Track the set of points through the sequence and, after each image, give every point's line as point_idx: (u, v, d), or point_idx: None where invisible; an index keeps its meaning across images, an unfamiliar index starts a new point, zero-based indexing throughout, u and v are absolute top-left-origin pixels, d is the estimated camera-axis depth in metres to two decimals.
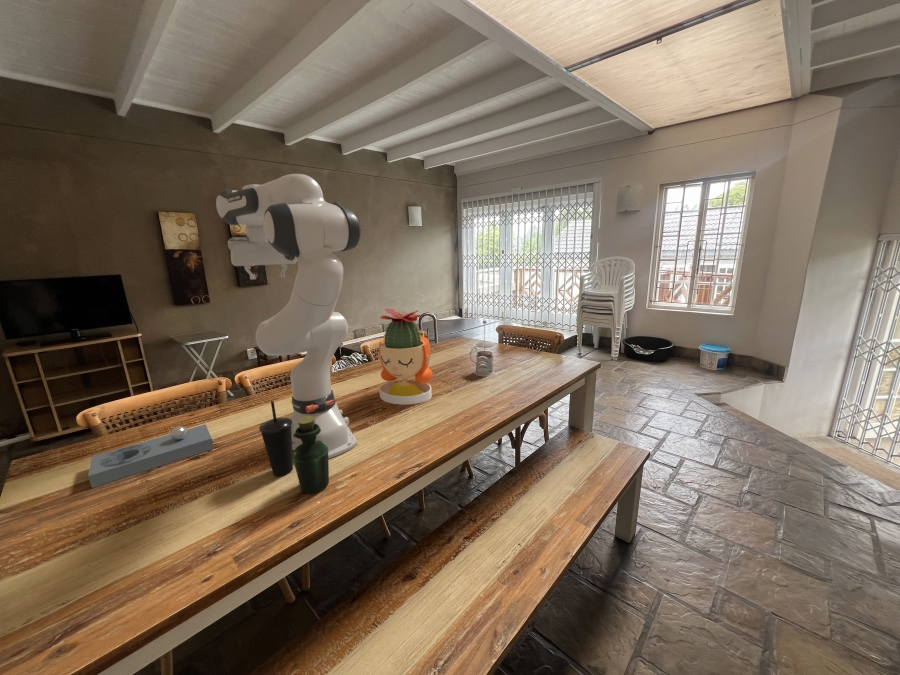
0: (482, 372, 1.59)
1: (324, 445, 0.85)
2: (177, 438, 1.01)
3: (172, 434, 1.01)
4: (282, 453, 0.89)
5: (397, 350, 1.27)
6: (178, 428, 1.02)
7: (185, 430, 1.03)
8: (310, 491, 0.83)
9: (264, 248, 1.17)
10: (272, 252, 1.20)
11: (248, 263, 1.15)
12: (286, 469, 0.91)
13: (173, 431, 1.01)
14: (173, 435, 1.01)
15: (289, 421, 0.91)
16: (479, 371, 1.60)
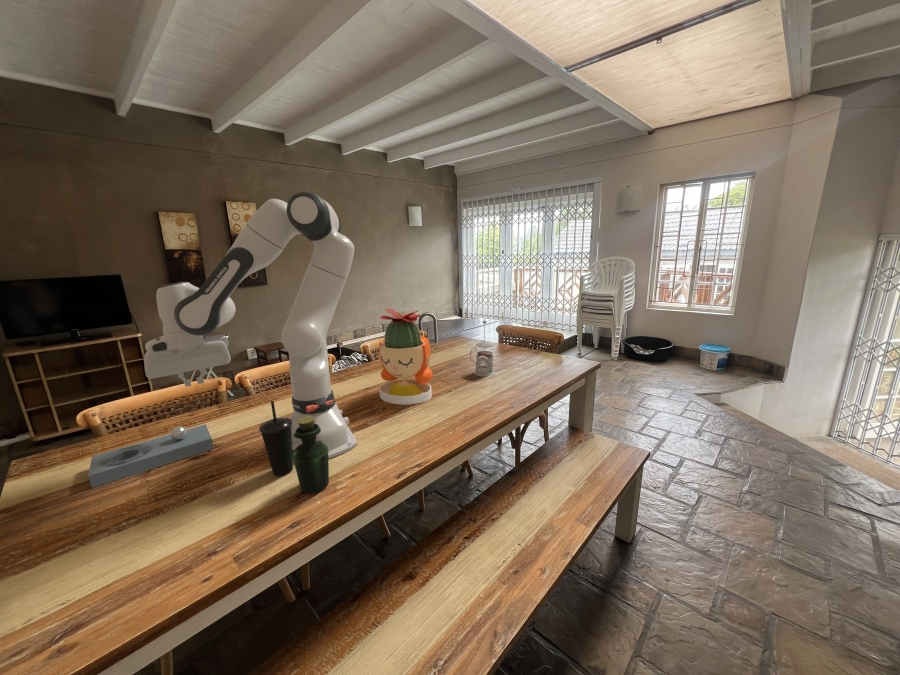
0: (482, 372, 1.59)
1: (324, 445, 0.85)
2: (177, 438, 1.01)
3: (172, 434, 1.01)
4: (282, 453, 0.89)
5: (397, 350, 1.27)
6: (178, 428, 1.02)
7: (185, 430, 1.03)
8: (310, 491, 0.83)
9: None
10: None
11: None
12: (286, 469, 0.91)
13: (173, 431, 1.01)
14: (173, 435, 1.01)
15: (289, 421, 0.91)
16: (479, 371, 1.60)
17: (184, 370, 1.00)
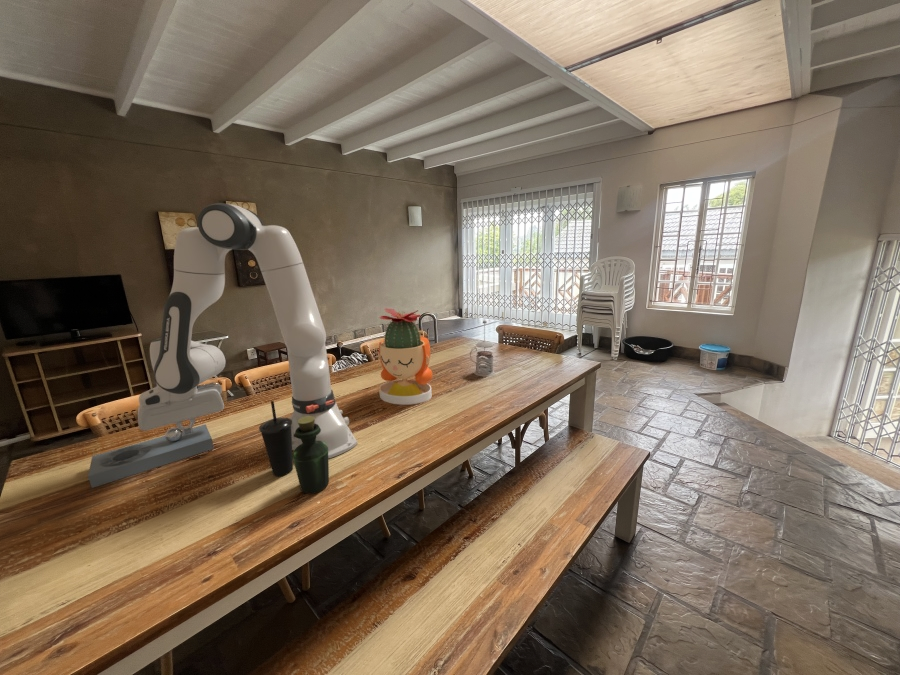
0: (482, 372, 1.59)
1: (324, 445, 0.85)
2: (174, 439, 1.01)
3: (167, 439, 1.00)
4: (282, 453, 0.89)
5: (397, 350, 1.27)
6: (168, 431, 1.01)
7: (176, 430, 1.02)
8: (310, 491, 0.83)
9: None
10: None
11: None
12: (286, 469, 0.91)
13: (166, 436, 1.00)
14: (168, 439, 1.00)
15: (289, 421, 0.91)
16: (479, 371, 1.60)
17: (177, 420, 1.01)
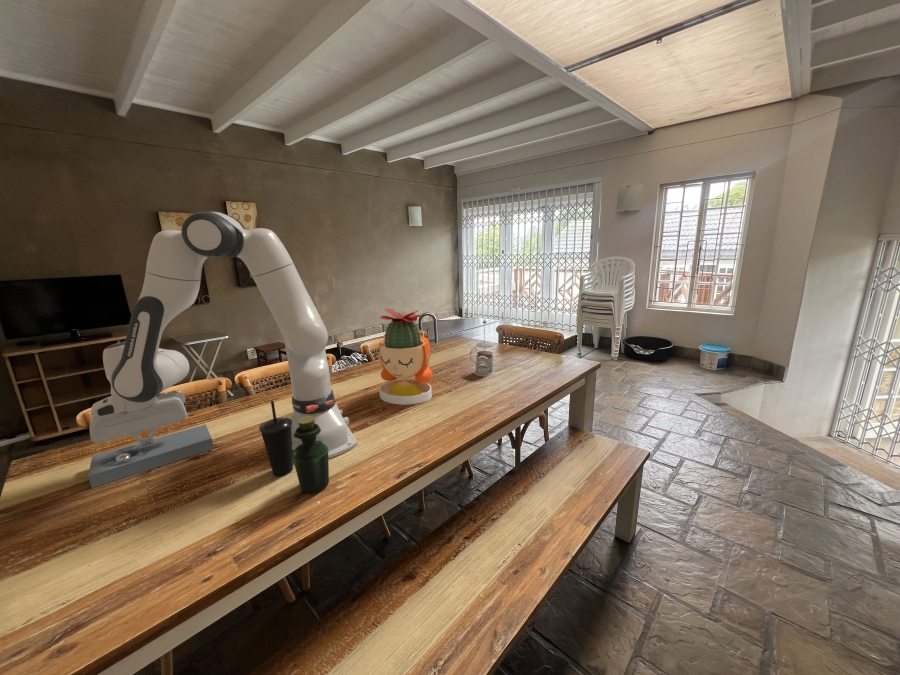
0: (482, 372, 1.59)
1: (324, 445, 0.85)
2: None
3: None
4: (282, 453, 0.89)
5: (397, 350, 1.27)
6: (116, 459, 0.94)
7: (125, 456, 0.95)
8: (310, 491, 0.83)
9: None
10: None
11: None
12: (286, 469, 0.91)
13: None
14: None
15: (289, 421, 0.91)
16: (479, 371, 1.60)
17: (134, 431, 0.95)
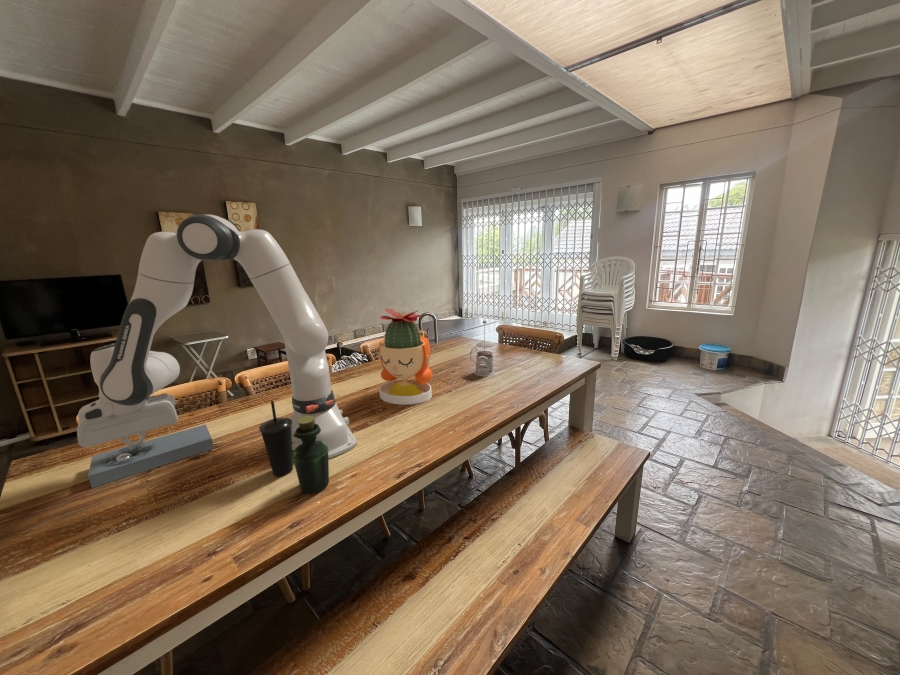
0: (482, 372, 1.59)
1: (324, 445, 0.85)
2: None
3: None
4: (282, 453, 0.89)
5: (397, 350, 1.27)
6: (117, 459, 0.94)
7: (126, 456, 0.95)
8: (310, 491, 0.83)
9: None
10: None
11: None
12: (286, 469, 0.91)
13: None
14: None
15: (289, 421, 0.91)
16: (479, 371, 1.60)
17: (124, 435, 0.93)
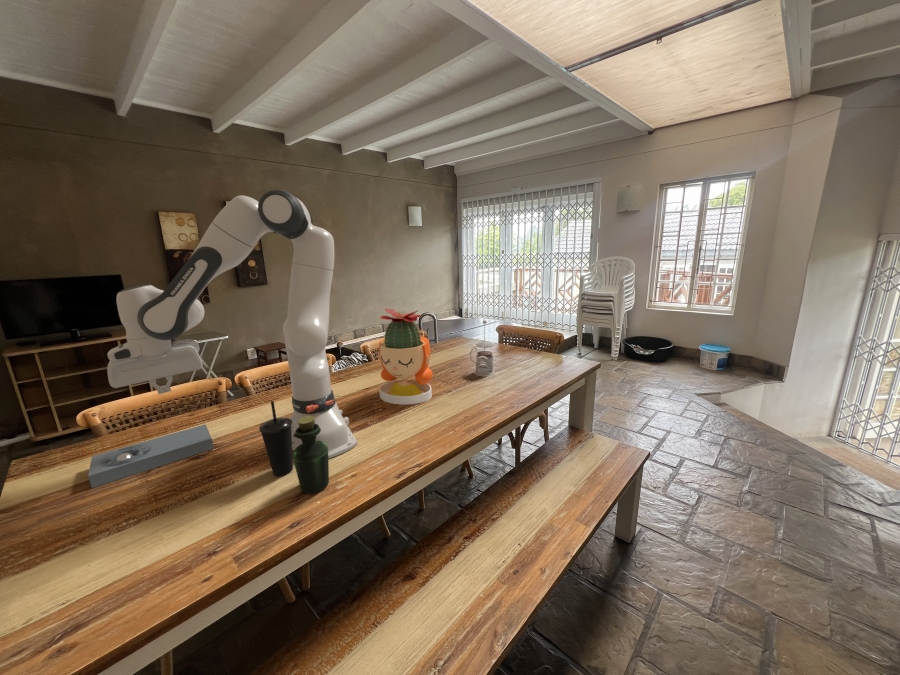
0: (482, 372, 1.59)
1: (324, 445, 0.85)
2: None
3: None
4: (282, 453, 0.89)
5: (397, 350, 1.27)
6: (118, 458, 0.94)
7: (127, 455, 0.95)
8: (310, 491, 0.83)
9: None
10: None
11: None
12: (286, 469, 0.91)
13: None
14: None
15: (289, 421, 0.91)
16: (479, 371, 1.60)
17: (152, 377, 0.95)
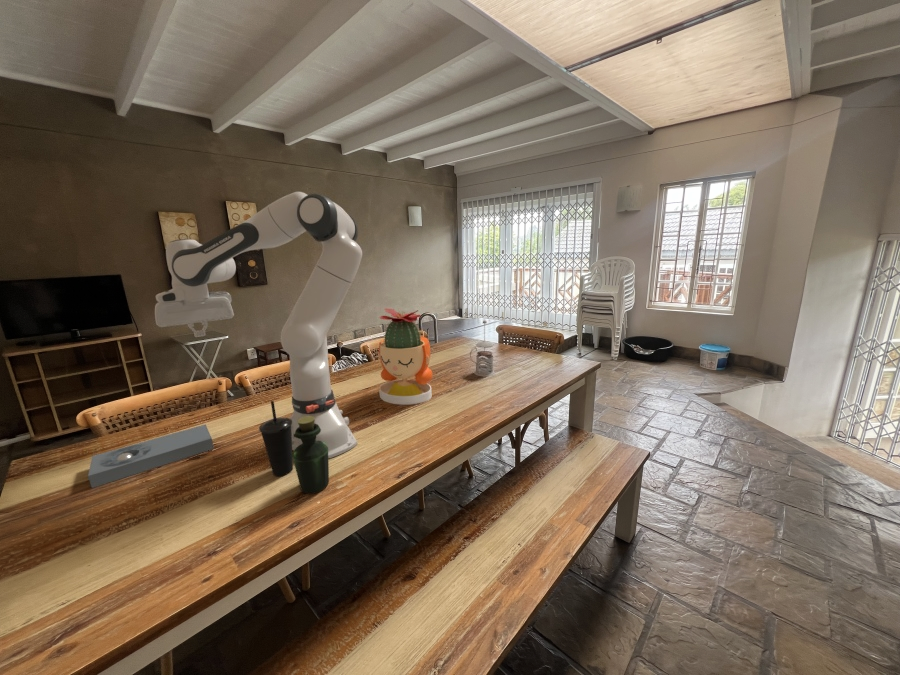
0: (482, 372, 1.59)
1: (324, 445, 0.85)
2: None
3: None
4: (282, 453, 0.89)
5: (397, 350, 1.27)
6: (118, 458, 0.94)
7: (127, 455, 0.95)
8: (310, 491, 0.83)
9: None
10: None
11: None
12: (286, 469, 0.91)
13: None
14: None
15: (289, 421, 0.91)
16: (479, 371, 1.60)
17: (191, 321, 1.09)
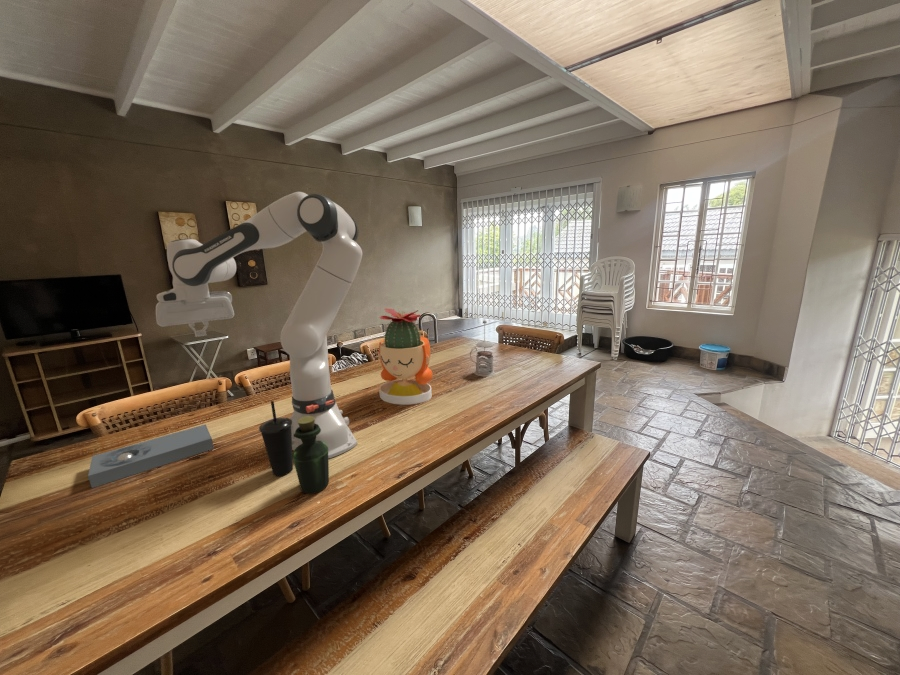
0: (482, 372, 1.59)
1: (324, 445, 0.85)
2: None
3: None
4: (282, 453, 0.89)
5: (397, 350, 1.27)
6: (119, 457, 0.94)
7: (128, 455, 0.95)
8: (310, 491, 0.83)
9: None
10: None
11: None
12: (286, 469, 0.91)
13: None
14: None
15: (289, 421, 0.91)
16: (479, 371, 1.60)
17: (192, 321, 1.09)
